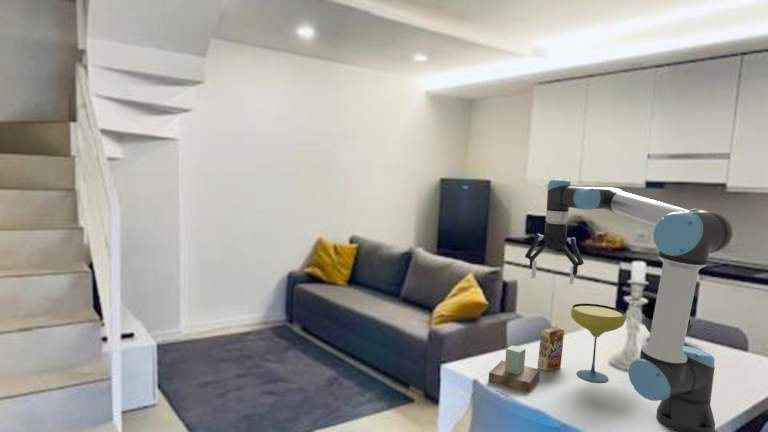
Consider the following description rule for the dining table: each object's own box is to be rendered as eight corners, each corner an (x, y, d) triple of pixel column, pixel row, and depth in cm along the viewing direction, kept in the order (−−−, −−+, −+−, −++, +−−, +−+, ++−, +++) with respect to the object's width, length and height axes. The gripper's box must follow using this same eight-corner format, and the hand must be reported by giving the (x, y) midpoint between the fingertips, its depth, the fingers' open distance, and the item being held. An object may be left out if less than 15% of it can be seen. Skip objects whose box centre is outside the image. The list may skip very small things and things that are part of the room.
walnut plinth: (539, 380, 180) (539, 369, 180) (528, 394, 168) (529, 382, 168) (501, 370, 187) (501, 360, 187) (488, 383, 175) (489, 372, 175)
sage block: (523, 370, 178) (525, 348, 177) (518, 374, 174) (519, 352, 173) (510, 366, 181) (512, 345, 180) (504, 370, 177) (506, 348, 176)
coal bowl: (652, 330, 244) (655, 292, 242) (697, 342, 229) (702, 302, 227) (633, 338, 231) (637, 298, 229) (680, 351, 216) (685, 308, 214)
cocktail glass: (629, 387, 176) (635, 318, 173) (579, 386, 175) (584, 316, 172) (604, 367, 194) (609, 304, 191) (558, 366, 193) (563, 302, 190)
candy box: (546, 372, 186) (549, 332, 185) (537, 368, 190) (540, 328, 188) (561, 367, 191) (564, 328, 190) (552, 363, 195) (555, 325, 193)
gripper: (595, 225, 177) (590, 284, 179) (525, 218, 190) (521, 273, 192) (591, 226, 171) (586, 288, 172) (519, 220, 184) (515, 277, 186)
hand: (552, 280), depth 182 cm, fingers open, 13 cm apart
